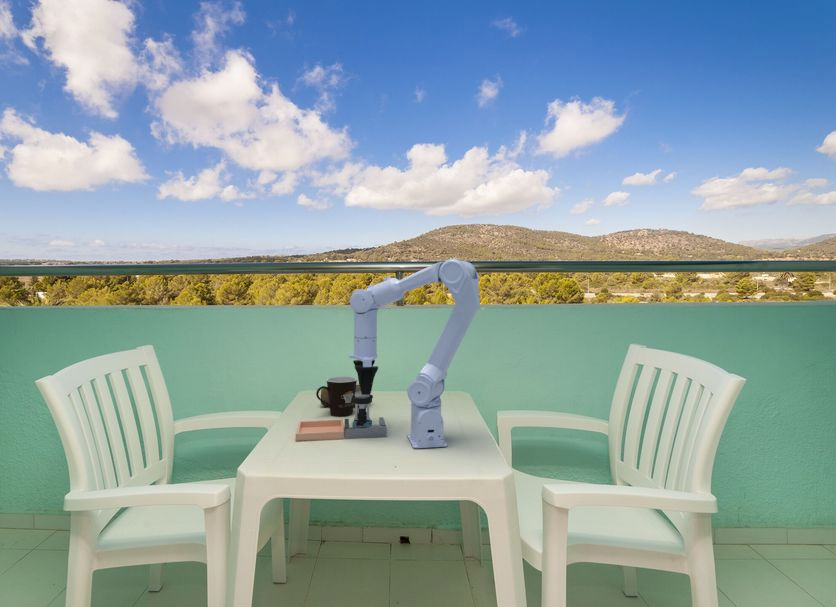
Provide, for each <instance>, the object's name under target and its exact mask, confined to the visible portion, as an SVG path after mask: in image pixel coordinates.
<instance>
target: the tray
mask: <svg viewBox="0 0 836 607" xmlns="http://www.w3.org/2000/svg"><path fill="white" fill-rule="evenodd" d="M344 439H345V428H344V420H343V419H325V420H324V419H323V420H300V421H298V422H297V427H296V431H295V442H313V441H332V440H333V441H334V440H335V441H336V440H344Z"/></svg>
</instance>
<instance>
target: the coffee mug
mask: <svg viewBox="0 0 836 607" xmlns="http://www.w3.org/2000/svg"><path fill="white" fill-rule="evenodd" d="M357 382H358V378H357V377H355V376H354V377H353V376H332V377H329V378H326V386H325V385H322V386H320V387H318V388H317V389H316V393H315V394H316V398H317V399H318V400H319V401H320V403H321V402H323V403H324V404H326V405H325V406H327V405H328V406H327V407H329V413H330V416H331V417H336V418H344V417H349V416H353V414H354V408H355V406H354V403H353V399H352V396H353V395H355V391H356V385H357ZM323 388H325V389H327V391H328V397H329V404H328V403H327V402H325V401H323V400H321V396H320V395H319V393H320V392H321V390H322V389H323Z"/></svg>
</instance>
